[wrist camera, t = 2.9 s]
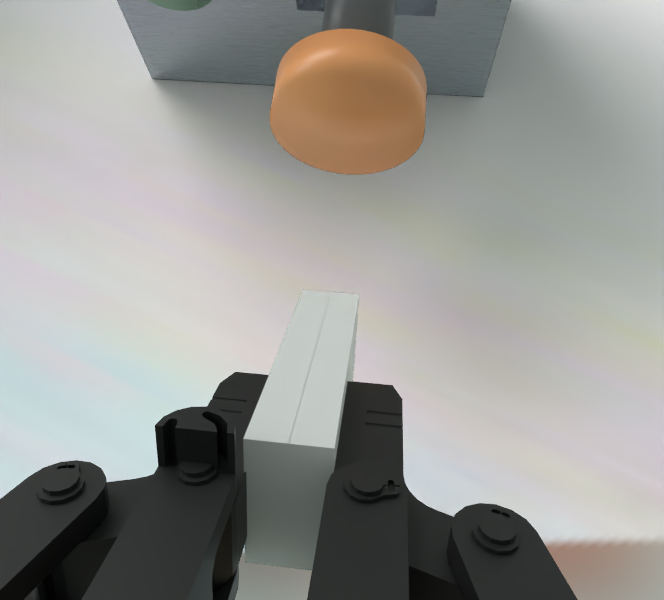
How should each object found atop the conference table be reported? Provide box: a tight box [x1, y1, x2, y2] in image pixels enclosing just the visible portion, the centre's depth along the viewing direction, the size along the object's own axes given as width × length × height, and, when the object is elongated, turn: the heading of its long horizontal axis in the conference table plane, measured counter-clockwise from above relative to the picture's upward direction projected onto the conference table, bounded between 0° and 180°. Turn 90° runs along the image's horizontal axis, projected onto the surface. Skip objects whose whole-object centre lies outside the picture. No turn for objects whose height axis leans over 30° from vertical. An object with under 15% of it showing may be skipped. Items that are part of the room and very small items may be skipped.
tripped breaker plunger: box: [270, 0, 427, 174], centre depth 25 cm, size 13×6×6 cm, turn 174°
